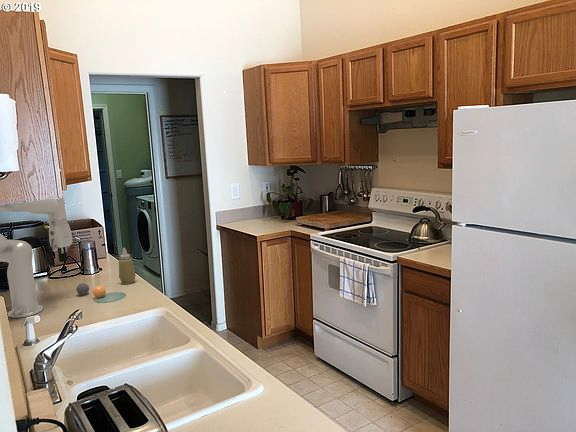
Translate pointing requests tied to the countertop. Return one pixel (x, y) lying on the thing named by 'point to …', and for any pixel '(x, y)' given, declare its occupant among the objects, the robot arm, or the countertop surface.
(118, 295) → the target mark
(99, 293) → the object ball
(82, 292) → the dark gray ball
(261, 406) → the countertop surface
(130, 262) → the squeeze bottle
